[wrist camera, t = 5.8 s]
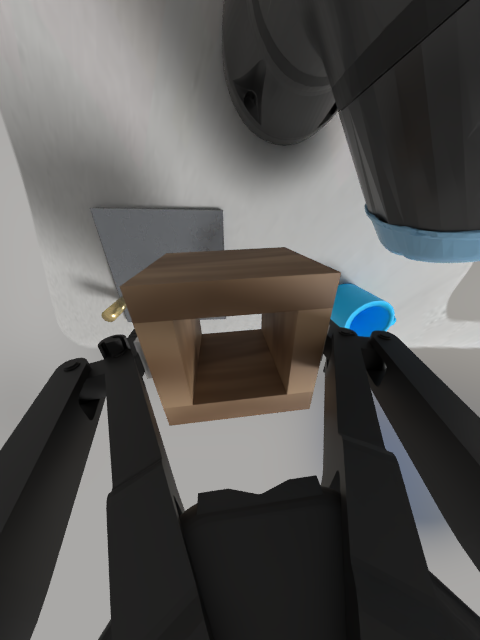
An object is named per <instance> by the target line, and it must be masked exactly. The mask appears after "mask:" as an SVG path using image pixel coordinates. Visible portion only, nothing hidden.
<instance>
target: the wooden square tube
mask: <svg viewBox="0 0 480 640" xmlns="http://www.w3.org/2000/svg"><path fill="white" fill-rule="evenodd" d="M340 275H341V272H339V271H336V270H334V269H332V268H330V267H327V266H325V265H323V264H321V263H319V262H316V261H314V260H312V259H310V258H307V257H305V256H303V255H301V254H299V253H296V252H294V251H292V250H290V249H287V248H285V247H281V248H261V249H241V250H221V251H202V252H182V253H166V254H164V255H163V256H162V257H160V258H159V259H157V260H156V261H155V262H153V263H152V264H150V265H149V266H148V267H146V268H145V269H143V270H142V271H141V272H139V273H138V274H136V275H135V276H134V277H132V278H131V279H129V280H128V281H127V282H125V283H124V284H122V285H121V286H120V289H121V292H122V295H123V298H124V300H125V303H126V306H127V309H128V311H129V314H130V317H131V320H132V323H133V325H134V328H135V331H136V334H137V336H138V339H139V342H140V345H141V347H142V350H143V353H144V356H145V359H146V361H147V364H148V367H149V370H150V372H151V375H152V378H153V380H154V383H155V386H156V389H157V392H158V395H159V397H160V400H161V403H162V406H163V408H164V411H165V414H166V416H167V419H168V422H169V425H179V424H187V423H195V422H203V421H212V420H220V419H228V418H236V417H244V416H252V415H261V414H269V413H278V412H286V411H294V410H302V409H309V408H310V404H311V400H312V395H313V391H314V387H315V382H316V378H317V374H318V369H319V365H320V361H321V357H322V352H323V348H324V344H325V340H326V335H327V331H328V327H329V322H330V318H331V314H332V310H333V305H334V301H335V297H336V292H337V288H338V284H339V280H340ZM249 314H262V327H261V329H258V330H246V331H234V332H222V333H210V334H202V332H201V326H200V319H199V318H211V317H224V316H237V315H249Z"/></svg>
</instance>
